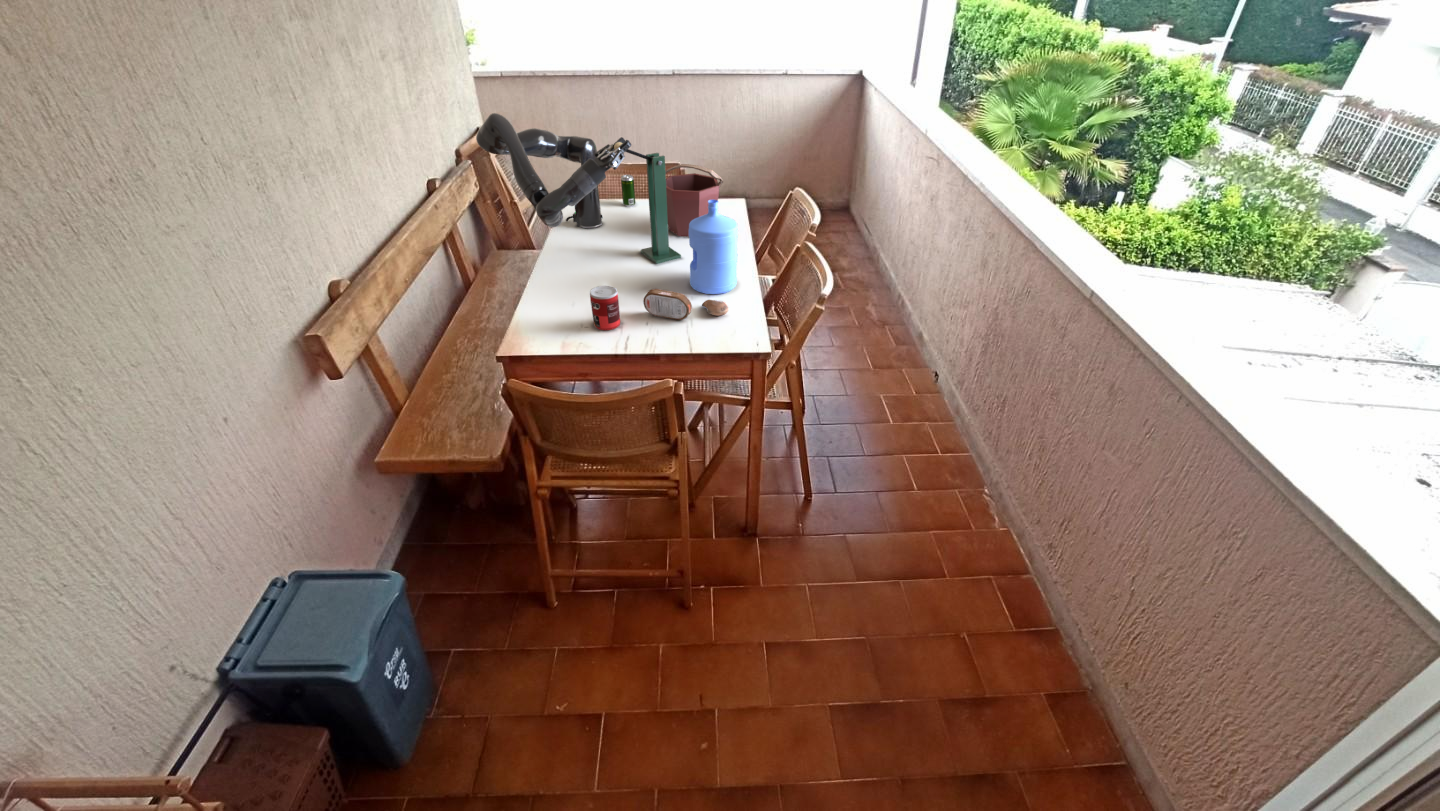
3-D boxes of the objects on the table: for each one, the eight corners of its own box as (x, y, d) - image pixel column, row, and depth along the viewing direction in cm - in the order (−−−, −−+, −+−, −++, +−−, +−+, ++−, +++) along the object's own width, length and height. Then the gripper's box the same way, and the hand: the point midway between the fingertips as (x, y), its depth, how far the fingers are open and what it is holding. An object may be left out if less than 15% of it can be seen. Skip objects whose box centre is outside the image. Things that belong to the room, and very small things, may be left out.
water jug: (744, 279, 217) (746, 197, 200) (724, 299, 206) (725, 213, 189) (702, 271, 222) (701, 190, 206) (681, 289, 211) (678, 205, 194)
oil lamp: (726, 307, 203) (701, 308, 202) (726, 295, 201) (701, 296, 200) (729, 317, 195) (703, 318, 194) (729, 305, 193) (702, 306, 192)
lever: (615, 152, 202) (618, 141, 201) (610, 150, 205) (614, 139, 203) (659, 168, 213) (663, 158, 212) (655, 165, 216) (658, 155, 214)
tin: (692, 318, 195) (691, 293, 190) (688, 323, 193) (688, 298, 188) (647, 310, 199) (645, 285, 194) (642, 315, 197) (641, 290, 192)
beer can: (638, 205, 276) (636, 176, 269) (627, 207, 274) (625, 179, 267) (631, 201, 280) (629, 173, 273) (620, 204, 277) (618, 176, 270)
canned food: (594, 319, 195) (590, 285, 188) (621, 318, 195) (618, 284, 189) (592, 331, 188) (588, 297, 182) (620, 330, 189) (616, 296, 182)
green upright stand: (656, 264, 227) (650, 162, 206) (640, 253, 235) (633, 153, 214) (681, 258, 231) (677, 157, 210) (664, 247, 239) (659, 148, 218)
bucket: (732, 228, 255) (733, 163, 240) (701, 246, 240) (700, 178, 225) (681, 216, 266) (679, 153, 251) (649, 233, 251) (644, 167, 236)
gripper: (589, 173, 196) (630, 135, 197) (571, 162, 205) (610, 126, 206) (603, 192, 201) (643, 155, 202) (586, 181, 211) (623, 145, 212)
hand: (626, 141), depth 204 cm, fingers closed on lever, 3 cm apart
